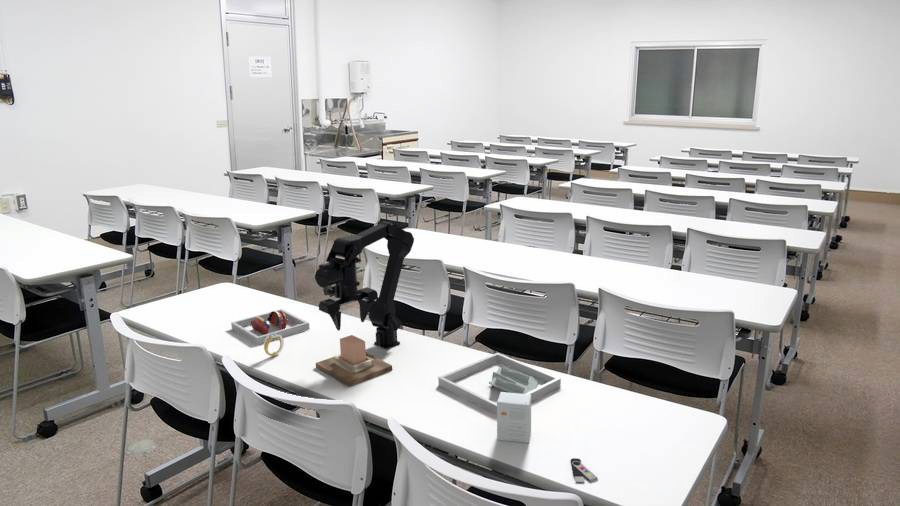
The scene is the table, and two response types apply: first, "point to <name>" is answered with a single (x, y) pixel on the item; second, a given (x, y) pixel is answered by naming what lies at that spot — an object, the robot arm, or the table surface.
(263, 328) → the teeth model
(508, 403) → the small box
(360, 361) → the key block
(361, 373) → the socket board
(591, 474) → the usb flash drive
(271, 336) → the ring
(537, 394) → the bracket rim
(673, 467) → the table surface
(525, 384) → the metal bracket
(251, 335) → the jewellery tray
